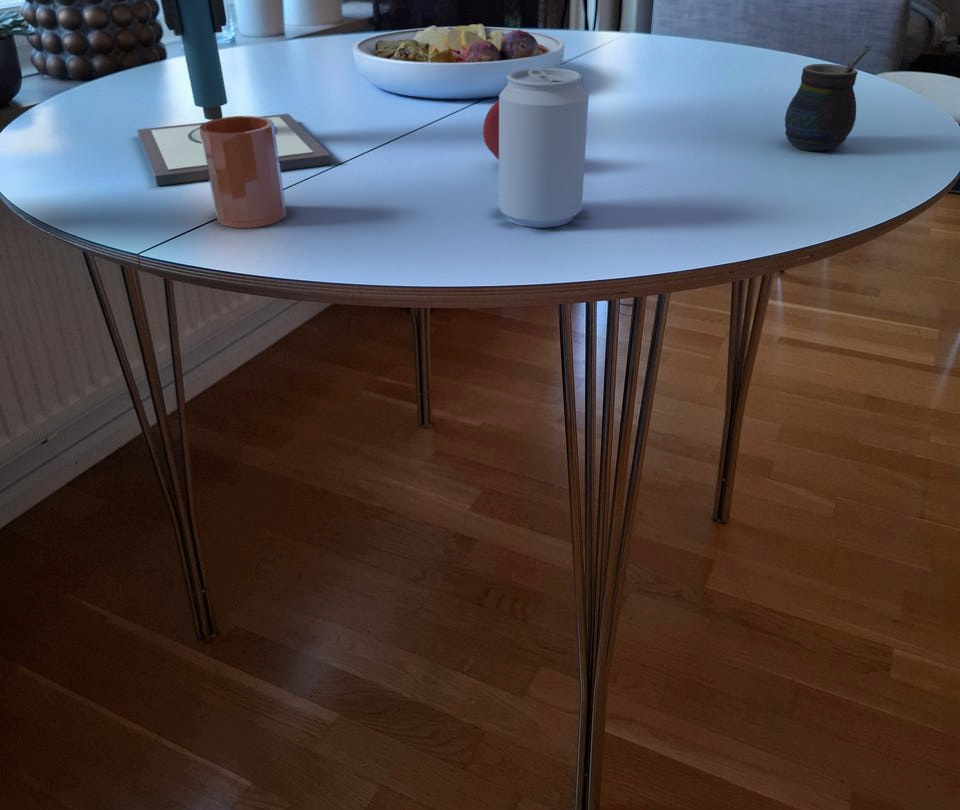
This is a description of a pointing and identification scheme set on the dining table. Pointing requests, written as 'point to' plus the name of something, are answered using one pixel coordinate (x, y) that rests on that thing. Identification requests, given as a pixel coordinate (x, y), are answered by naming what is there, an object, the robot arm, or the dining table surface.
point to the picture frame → (182, 153)
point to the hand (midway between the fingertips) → (197, 32)
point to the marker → (202, 56)
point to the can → (542, 146)
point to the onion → (492, 129)
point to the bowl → (453, 59)
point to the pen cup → (243, 171)
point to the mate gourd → (823, 106)
